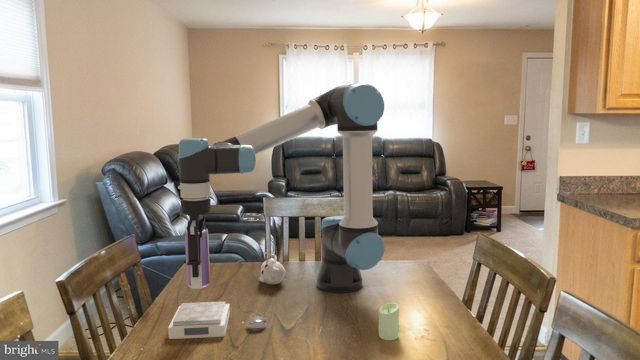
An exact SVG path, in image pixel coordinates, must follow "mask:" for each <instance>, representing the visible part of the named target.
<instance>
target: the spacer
mask: <svg viewBox="0 0 640 360" xmlns="http://www.w3.org/2000/svg"><path fill="white" fill-rule="evenodd" d="M246 324H247V326H246V328H247V329H248V330H249V331H252V332H257V331H262V330H264V329H266V328H267V318H266V317H263V316H259V315H257V316H252V317H249V318H248V319H247V322H246Z"/></svg>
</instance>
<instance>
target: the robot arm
mask: <svg viewBox="0 0 640 360" xmlns="http://www.w3.org/2000/svg"><path fill="white" fill-rule="evenodd" d="M384 112H385V101H384V97H383V96H382V94H381V92H380V91H379V90H378V89H377V88H376V87H375V86H373V85H371V84H368V83H360V82H358V83H353V84H344V85H338V86H336V87H334V88H332V89H330V90H329V91H327V92H324V93H322V94H321V95H318V96H316V97H314V98H312V99H310V100H309V101H308V103H307V104H306V105H304V106H302V107H299V108H298V109H295V110H293V111H291V112H288V113H286V114H283V115H280V116H278V117H276V118H274V119H272V120H269V121H267V122H265V123H263V124H260V125H257V126H255V127H253V128H250V129H248V130H246V131H243V132H241V133H238V134H237V135H234V136H233V137H229V138H227V139H225V140H223V141H222V140H221V141H216V142H214V143H212V144H211V145H210V144H209V140H208V139H207V138H204V137H203V138H202V137H201V138H200V137H196V138H195V137H192V138H190V137H189V138H182V139H180V140H179V142H178V169H179V170H178V172H179V184H180V185H178V186H177V189H178V190H180V198H182V199H181V200H180V212H181V214H182V215H185V216H189V220H188V221H187V226H186V230H187V233H188V263H187V265H190V271H191V287H190V289H191V290H195V289H196V290H198V289H199V290H200V289H203V288H202V266H201V261H200V238H201V237H202V232H203V229H204V228H206V216H205V215H207V214H209V213H211V211H212V208H211V207H212V206H211V198H210V197H211V181H210V180H211V179H210V176H211V175H226V174H229V175H231V174H233V175H234V174H241V175H242V174H246V173H252V172H253V171H254V170H255V168H256V160H257V158H256V157H257V155H259V154H261V153H264V152H265V151H269V150H270V149H272V148H276V147H278V146H280V145H282V144H284V143H286V142H288V141H290V140H292V139H295V138H297V137H299V136H301V135H304V134H307V133H308V132H311V131H313V130H315V129H317V128H318V129H320V130H323V129H325V128H327V127H331V126H336V125H337V126H336V128H337V133H338V134H339V135H340V136H341V137H342V168H343V169H342V173H343V174H342V178H343V182H342V183H343V215H333V216H326V217H324V218H323V219H322V221H321V228H320V229H321V262H320V263H321V264H320V267H319V269H318V272H317V276H316V286H317V288H318V289H321V290H322V291H326V292H331V293H350V292H355V291H357V290H359V289H361V288H362V287H363V276H362V274H361V271H365V270H369V269H373V268H374V267H376V266H377V265H378V264H379V262H381V261H382V259H383V257H384V255H385V249H386V247H385V245H386V244H385V241H384V240H383V238H382V236H381V235H380V234H379V222H378V220H376V218H374V217H373V216H374V214H373V213H374V212H373V210H374V209H373V203H374V202H373V200H374V199H373V198H374V197H373V193H374V192H373V137H374V135H375V134H376V133H377V132H378V122H379V121H380V120H381V118H382V117H383V115H384ZM198 232H200V234H199V235H198Z"/></svg>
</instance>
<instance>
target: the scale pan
mask: <svg viewBox="0 0 640 360" xmlns="http://www.w3.org/2000/svg"><path fill="white" fill-rule="evenodd" d="M226 304H227V303H226V301H205V302H204V301H202V302H201V301H200V302H182V303H181V304H180V305H179V306H180V308H179V307H178V308H179V310H178V309H177V310H178V312H177V314H176V316H175V318H174V320H173V325H192V324H215V323H221V320H222V316H223V313H224V309H225V305H226Z"/></svg>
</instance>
